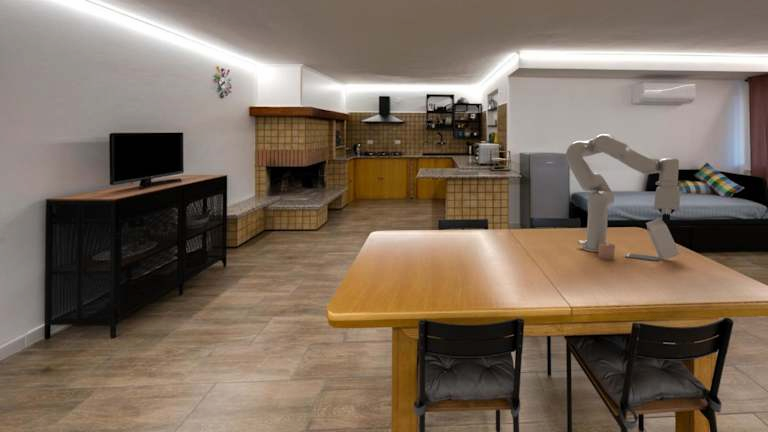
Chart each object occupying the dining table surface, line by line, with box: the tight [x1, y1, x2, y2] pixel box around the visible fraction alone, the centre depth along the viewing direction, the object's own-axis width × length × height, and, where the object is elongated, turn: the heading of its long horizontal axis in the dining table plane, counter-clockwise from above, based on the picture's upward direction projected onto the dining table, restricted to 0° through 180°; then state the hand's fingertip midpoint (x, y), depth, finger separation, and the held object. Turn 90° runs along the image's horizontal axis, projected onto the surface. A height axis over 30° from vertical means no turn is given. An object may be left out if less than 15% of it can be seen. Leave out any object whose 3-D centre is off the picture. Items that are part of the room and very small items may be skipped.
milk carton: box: [645, 217, 681, 260], centre depth 219 cm, size 7×7×19 cm
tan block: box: [597, 242, 616, 261], centre depth 223 cm, size 7×7×7 cm
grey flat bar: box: [624, 252, 660, 262], centre depth 224 cm, size 14×8×1 cm, turn 54°
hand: (665, 222), depth 217 cm, fingers closed
